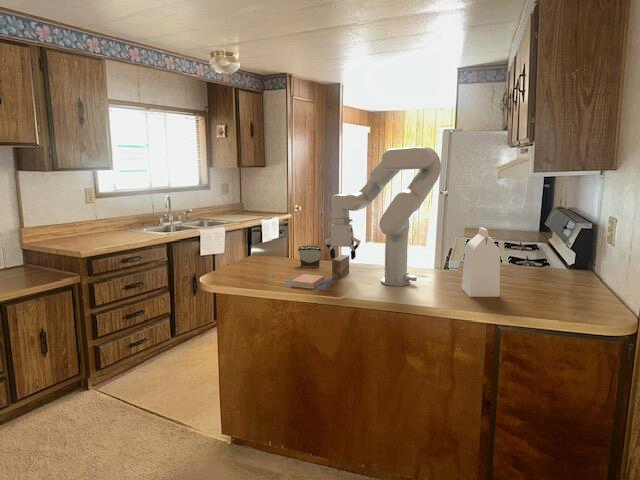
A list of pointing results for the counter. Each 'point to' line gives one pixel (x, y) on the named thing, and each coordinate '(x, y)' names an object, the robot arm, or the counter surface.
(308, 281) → the tile
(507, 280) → the counter surface
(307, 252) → the food container
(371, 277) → the counter surface
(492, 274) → the milk
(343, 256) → the pusher block
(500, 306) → the counter surface
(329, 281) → the mat
